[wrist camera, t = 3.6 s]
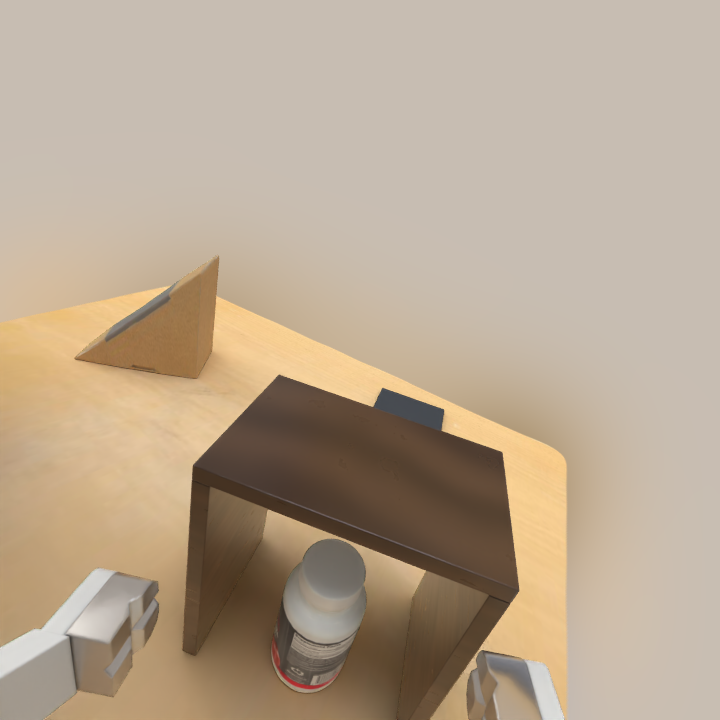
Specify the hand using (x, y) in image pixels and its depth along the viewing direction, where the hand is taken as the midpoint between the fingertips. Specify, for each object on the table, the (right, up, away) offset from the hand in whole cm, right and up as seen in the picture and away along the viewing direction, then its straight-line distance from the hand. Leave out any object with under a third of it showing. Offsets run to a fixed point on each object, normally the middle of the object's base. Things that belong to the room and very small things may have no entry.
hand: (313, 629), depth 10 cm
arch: (-2, -13, +21) cm, 25 cm away
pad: (+8, -1, +48) cm, 49 cm away
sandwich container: (-29, +7, +46) cm, 55 cm away
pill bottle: (-3, -14, +19) cm, 24 cm away
